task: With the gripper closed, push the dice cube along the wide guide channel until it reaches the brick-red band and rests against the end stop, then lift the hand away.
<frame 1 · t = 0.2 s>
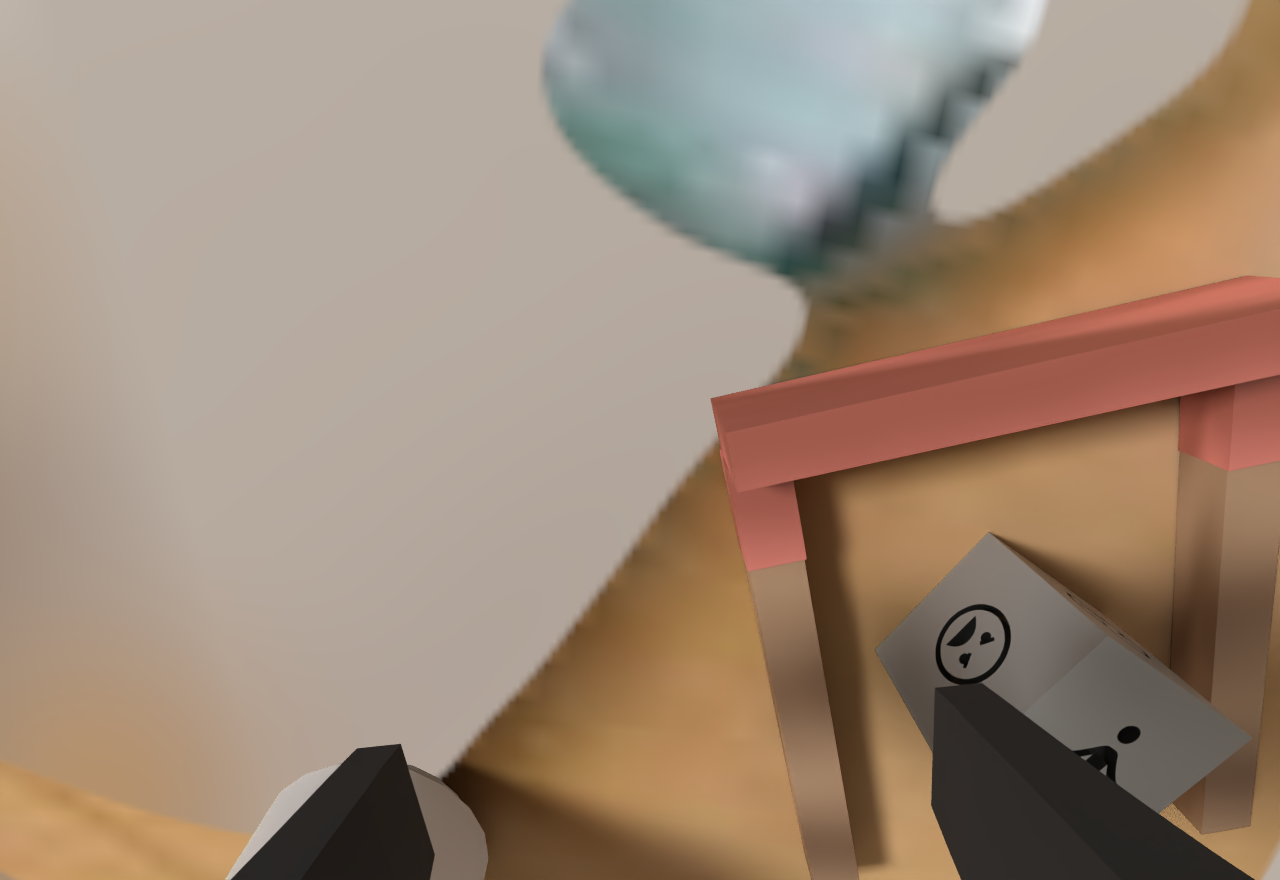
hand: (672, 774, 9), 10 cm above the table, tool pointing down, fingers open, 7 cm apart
dice cube: (984, 627, 20), resting in guide channel
can: (388, 820, 22), on the table
guide channel: (991, 635, 20), on the table
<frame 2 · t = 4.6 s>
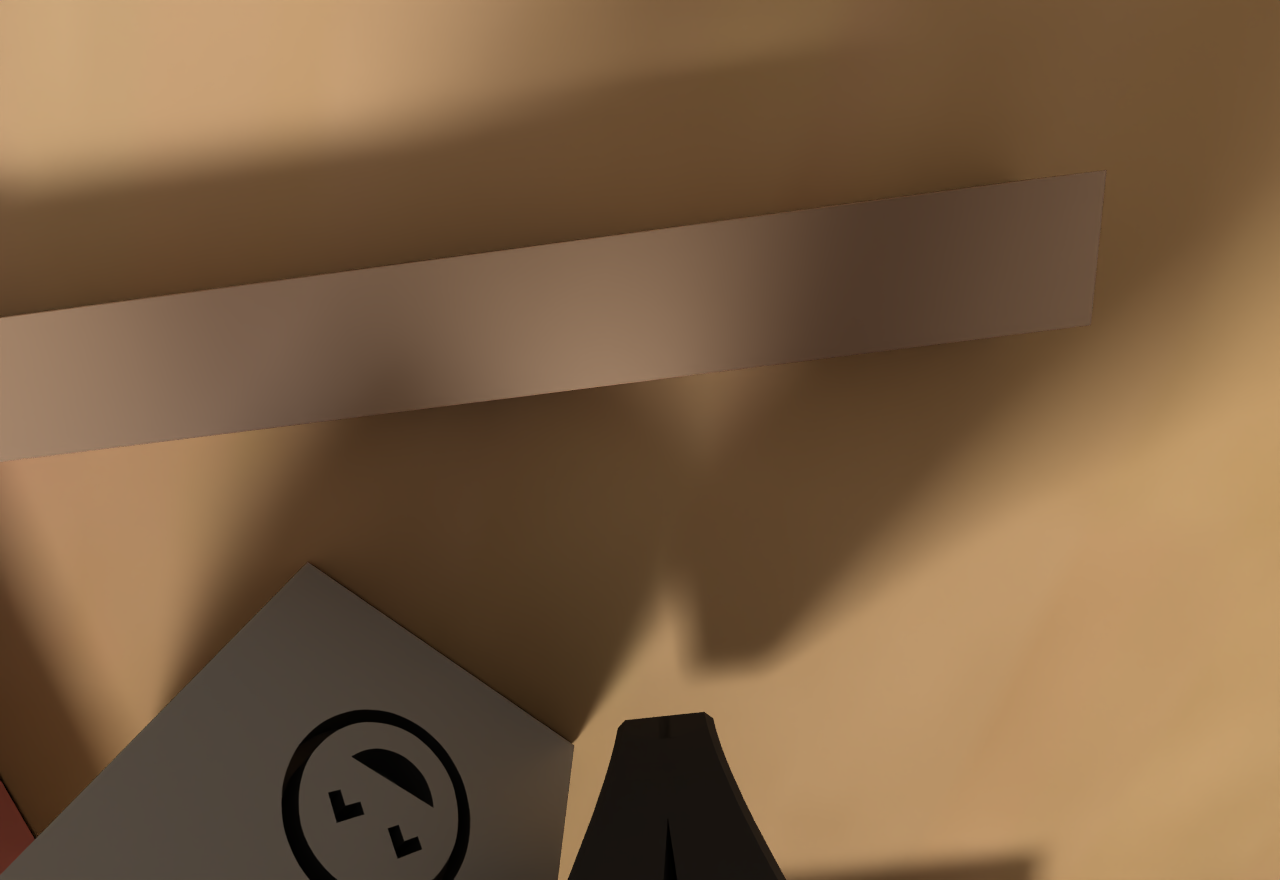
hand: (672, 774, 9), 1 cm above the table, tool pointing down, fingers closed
dice cube: (361, 745, 10), resting in guide channel, touching gripper
guide channel: (478, 721, 10), on the table
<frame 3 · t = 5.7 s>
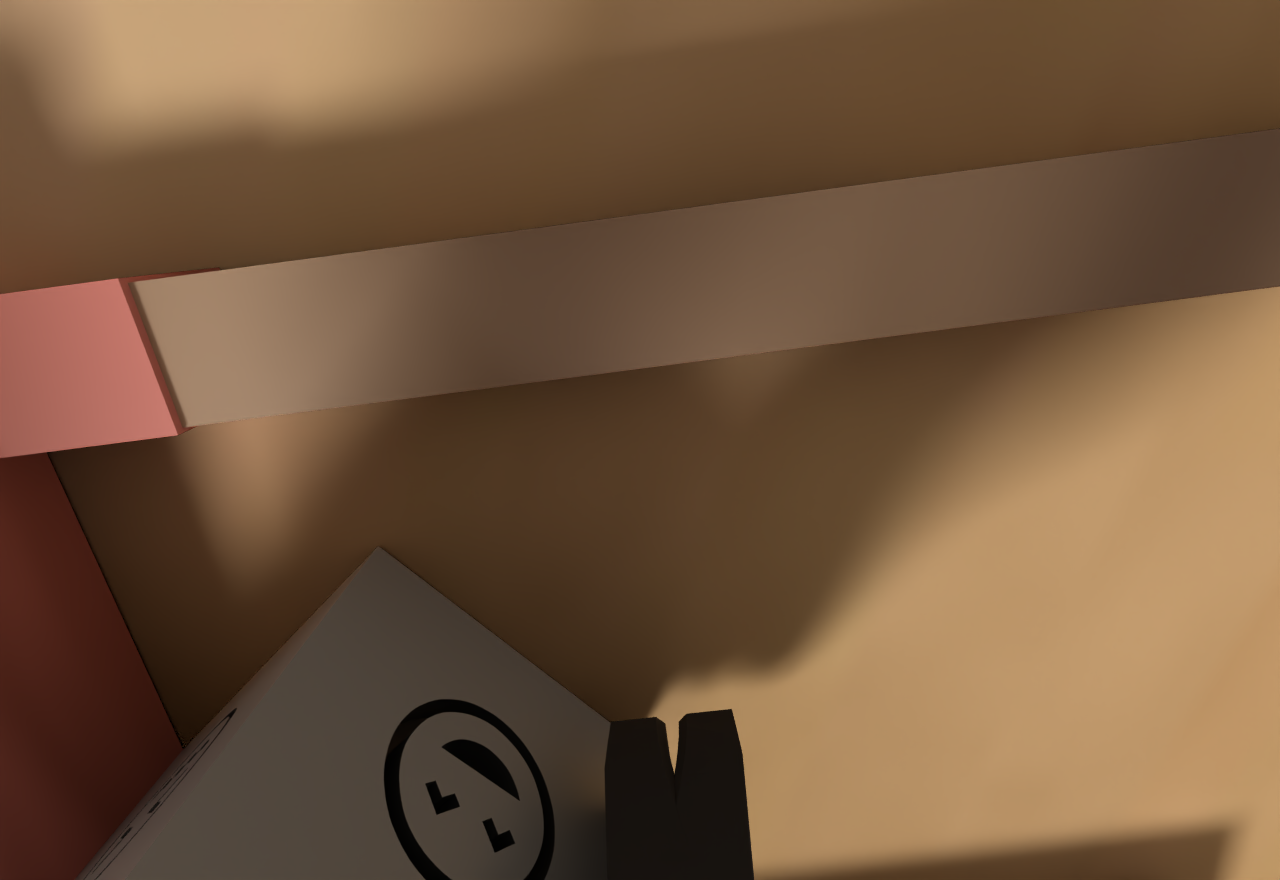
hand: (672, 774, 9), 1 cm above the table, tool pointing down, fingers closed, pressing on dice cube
dice cube: (413, 736, 10), resting in guide channel, touching gripper
guide channel: (691, 694, 10), on the table
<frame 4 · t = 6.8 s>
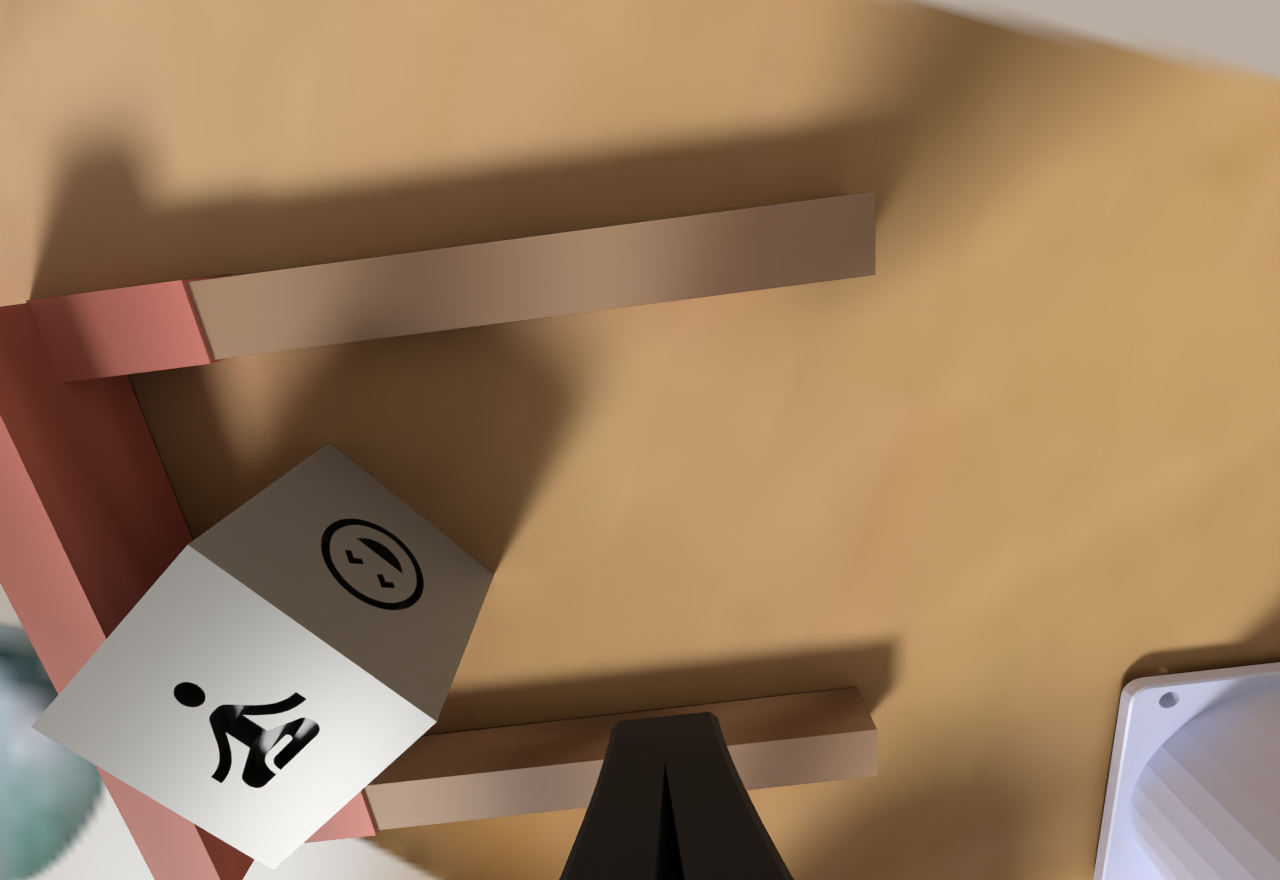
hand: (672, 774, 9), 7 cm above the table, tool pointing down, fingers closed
dice cube: (356, 570, 16), resting in guide channel
guide channel: (526, 541, 16), on the table
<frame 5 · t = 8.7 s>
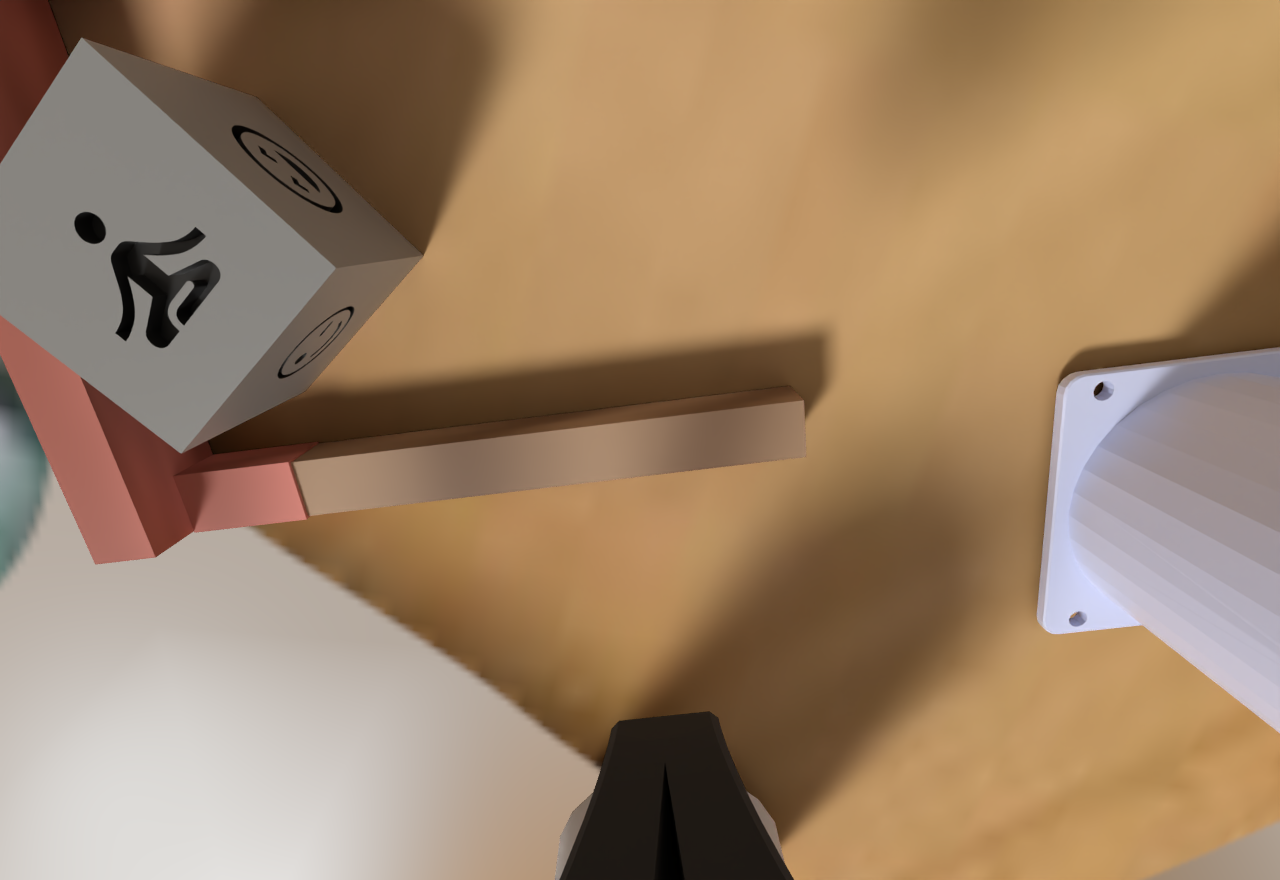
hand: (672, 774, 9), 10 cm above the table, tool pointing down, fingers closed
dice cube: (288, 254, 16), resting in guide channel
can: (668, 826, 22), on the table
guide channel: (453, 209, 16), on the table
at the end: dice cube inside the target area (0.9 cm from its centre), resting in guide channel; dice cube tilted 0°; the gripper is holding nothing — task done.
